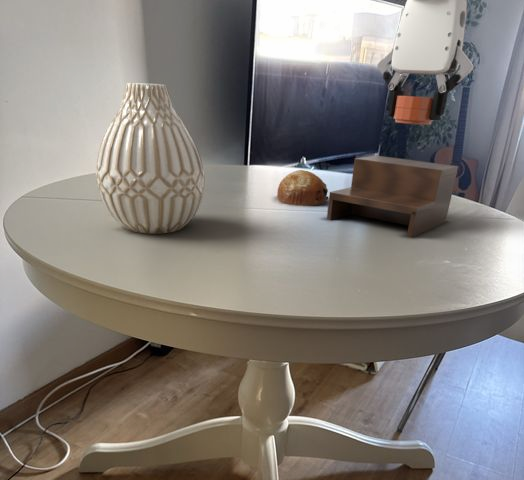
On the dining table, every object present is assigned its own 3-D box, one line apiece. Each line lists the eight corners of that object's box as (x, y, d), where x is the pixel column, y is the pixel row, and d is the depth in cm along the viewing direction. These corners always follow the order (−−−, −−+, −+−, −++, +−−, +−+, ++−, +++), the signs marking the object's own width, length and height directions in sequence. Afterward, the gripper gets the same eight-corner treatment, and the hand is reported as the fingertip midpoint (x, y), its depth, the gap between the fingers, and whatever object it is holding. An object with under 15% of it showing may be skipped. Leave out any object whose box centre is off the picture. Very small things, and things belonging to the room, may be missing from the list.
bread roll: (290, 212, 106) (277, 177, 103) (334, 196, 102) (322, 159, 99) (280, 222, 97) (265, 184, 95) (327, 205, 93) (314, 164, 90)
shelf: (445, 223, 89) (458, 166, 84) (410, 239, 77) (423, 174, 73) (367, 208, 97) (375, 155, 92) (326, 220, 86) (333, 161, 81)
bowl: (438, 124, 83) (443, 98, 81) (423, 125, 78) (429, 97, 76) (402, 121, 86) (406, 96, 84) (386, 121, 82) (391, 95, 80)
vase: (80, 226, 74) (60, 78, 65) (157, 211, 86) (151, 83, 76) (149, 248, 66) (139, 83, 57) (225, 228, 77) (227, 88, 68)
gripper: (503, -10, 71) (471, 122, 80) (395, -4, 80) (377, 114, 89) (489, -20, 66) (456, 122, 75) (375, -12, 75) (358, 114, 84)
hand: (413, 117), depth 82 cm, fingers closed on bowl, 6 cm apart
